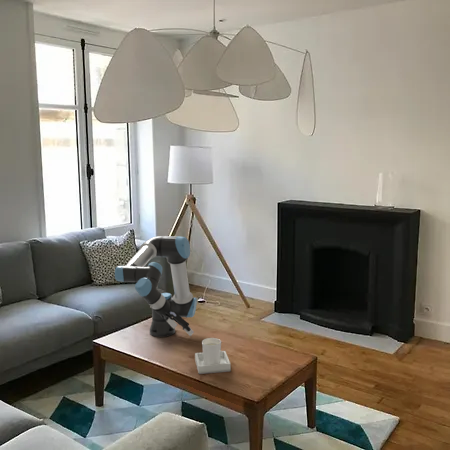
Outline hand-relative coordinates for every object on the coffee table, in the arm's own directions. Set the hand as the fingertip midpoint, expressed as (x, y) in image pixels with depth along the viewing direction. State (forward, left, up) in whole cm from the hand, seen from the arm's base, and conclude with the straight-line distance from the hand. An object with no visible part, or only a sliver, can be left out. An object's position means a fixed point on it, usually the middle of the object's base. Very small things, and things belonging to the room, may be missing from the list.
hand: (183, 330), depth 256 cm
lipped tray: (-4, +15, -22) cm, 26 cm away
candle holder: (-4, +14, -21) cm, 26 cm away
